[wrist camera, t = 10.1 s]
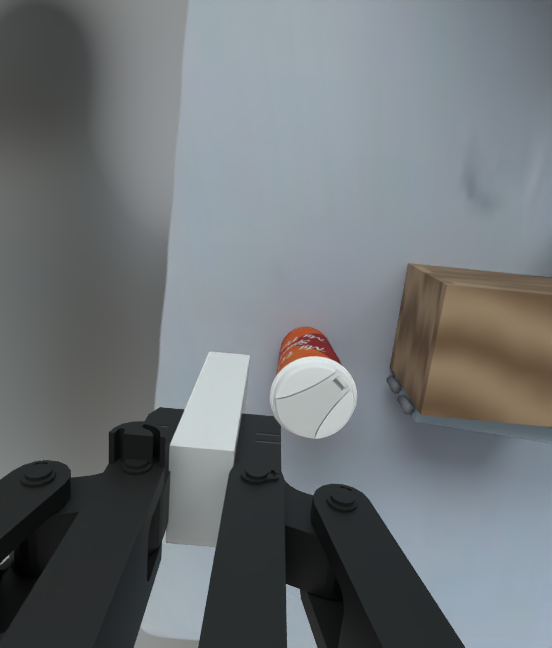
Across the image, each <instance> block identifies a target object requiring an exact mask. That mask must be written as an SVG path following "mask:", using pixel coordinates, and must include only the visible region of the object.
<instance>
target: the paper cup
mask: <svg viewBox="0 0 552 648" xmlns="http://www.w3.org/2000/svg"><path fill="white" fill-rule="evenodd" d="M356 403H357V389H356V385H355V382H354V380H353V378H352V376H351V375H350V373H349V372H348V371H347V370H346V369H345V368H344V367H343V366H342V365H341V362H340V360H339V359H338V357H337V355H336V354H335V352H334V350H333V348H332V347H331V345H330V343H329V342H328V340H327V338H326V337H325V336H324V335H323V334H322V333H321V332H320V331H318V330H316V329H314V328H310V327H301V328H297V329H295V330H293V331H291V332H290V333H289V334H288V335H287V336H286V337H285V339H284V340H283V342H282V345H281V349H280V354H279V360H278V366H277V373H276V377H275V379H274V381H273V383H272V386H271V390H270V405H271V409H272V411H273V414H274V417H275V419H276V420H277V421H278V422H279V424H280V425H281V427H282V428H284V429H285V430H287V431H288V432H290V433H293V434H296V435H299V436H302V437H307V438H313V439H319V438H324V437H328V436H330V435H332V434H334V433H336V432H338V431H339V430H340V429H341V428H343V427H344V426H345V424H346V423H347V422H348V420H349V419H350V417H351V416H352V414H353V412H354V410H355V407H356Z"/></svg>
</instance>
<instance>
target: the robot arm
mask: <svg viewBox="0 0 552 648" xmlns="http://www.w3.org/2000/svg"><path fill="white" fill-rule="evenodd" d="M249 361H250V355H242V354H231V353H220V352H210V351H209V353H208V356H207V358H206V360H205V363H204V365H203V368H202V370H201V372H200V375H199V377H198V379H197V382H196V384H195V387H194V389H193V391H192V394H191V396H190V398H189V401H188V403H187V406H186V408H185V410H184V409H173V408H162V407H160V408H158V409H157V410H155V411H153V412H152V413H150V414H149V415H148V417H147V418H146V420H145V421H144V422H142V421H141V422H129V423H124V424H121V425H119V426H117V427H115V428H113V429H112V430H111V431H110V432H109V464H108V466H107V468H106V469H105V471H104V472H103V473H100V474H96V475H91V476H83V477H73V478H71V470H70V469H69V468H68V466H67V465H65V464H63V463H61V462H58V461H49V460H46V461H45V460H43V461H35V462H32V463H29V464H25V465H23V466H21V467H19V468H17V469H16V470H14V471H12V472H10V473H9V474H8V475H6V476H5V477H3V478H2V479H1V480H0V563H1V562H2V561H3V559H5V558H6V557H7V556H8V555H9V558H8V559H7V560H6V561H5V562H4V563H3V564H1V565H0V648H134V645H135V641H136V638H137V635H138V631H139V629H140V625H141V622H142V619H143V616H144V613H145V609H146V606H147V603H148V600H149V596H150V593H151V590H152V587H153V584H154V580H155V577H156V574H157V571H158V568H159V564H160V561H161V552H162V539H163V536H164V533H165V530H166V543H173V544H185V545H197V546H209V547H216V550H215V555H214V561H213V567H212V573H211V578H210V584H209V590H208V595H207V601H206V607H205V612H204V618H203V624H202V629H201V635H200V641H199V647H198V648H287V626H286V584H288V585H291V586H293V587H296V588H299V589H300V594H301V600H302V603H303V606H304V609H305V612H306V615H307V618H308V621H309V624H310V627H311V630H312V632H313V635H314V638H315V641H316V644H317V647H318V648H465V646H464V645H463V643H462V642H461V640H460V639H459V637H458V636H457V634H456V633H455V631H454V629H453V628H452V626H451V625H450V623H449V622H448V620H447V619H446V617H445V616H444V614H443V613H442V611H441V609H440V608H439V606H438V605H437V603H436V602H435V600H434V599H433V597H432V596H431V594H430V593H429V591H428V590H427V588H426V586H425V585H424V583H423V582H422V580H421V579H420V577H419V576H418V574H417V573H416V571H415V570H414V568H413V566H412V565H411V563H410V562H409V560H408V559H407V557H406V556H405V554H404V553H403V551H402V550H401V548H400V546H399V545H398V543H397V542H396V540H395V539H394V537H393V536H392V534H391V533H390V531H389V530H388V528H387V527H386V525H385V523H384V522H383V520H382V519H381V517H380V516H379V514H378V513H377V511H376V510H375V508H374V507H373V505H372V503H371V502H370V500H369V499H368V498H367V497H366V496H365V495H364V494H363V493H362V492H360V491H358V490H357V489H355V488H353V487H350V486H346V485H343V484H329V485H324V486H322V487H320V488H318V489H317V490H316V491H315V493H314V495H310V494H306V493H304V492H301V491H298V490H296V489H295V488H293V487H291V486H290V485H289V484H288V483H287V482H286V481H285V480H284V477H283V474H282V472H281V425H280V424H279V422H278V421H277V420H276V419H275V417H274V416H264V415H253V414H245V406H246V395H247V383H248V372H249Z"/></svg>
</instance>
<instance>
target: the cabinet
mask: <svg viewBox="0 0 552 648" xmlns="http://www.w3.org/2000/svg"><path fill="white" fill-rule="evenodd" d="M390 368H391V369H392V371H393V372H394V374H395V375H396V377H397V379H398V380H399V382H400V383H401V385H402V386H403V388H404V390H405V391H406V393H407V394H408V396H409V397H410V399H411V401H412V402H413V404H414V405H415V407H416V408H417V410H418V412H419V413H420V415H425V416H436V417H447V418H458V419H469V420H480V421H491V422H502V423H513V424H524V425H535V426H545V427H552V278H551V277H540V276H530V275H520V274H510V273H500V272H490V271H480V270H470V269H460V268H450V267H440V266H430V265H420V264H410V263H408V268H407V274H406V280H405V285H404V291H403V296H402V302H401V308H400V313H399V319H398V325H397V330H396V336H395V342H394V347H393V353H392V359H391V364H390Z"/></svg>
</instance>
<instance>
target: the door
mask: <svg viewBox="0 0 552 648" xmlns="http://www.w3.org/2000/svg"><path fill="white" fill-rule="evenodd" d="M387 383H388V385H389V386H390V388H391V390H392V392H394V393H398V394H399V397H398V402H399V404H400V406H401V407H402V409H403V411H404V413H405V414H408V415H409V414H411V416H412V418H413V419H414V421H415V422H418V423H424V424H430V425H437V426H443V427H450V428H456V429H463V430H469V431H476V432H482V433H489V434H495V435H501V436H508V437H514V438H521V439H527V440H534V441H540V442H547V443H552V427H545V426H535V425H524V424H513V423H502V422H491V421H480V420H469V419H458V418H447V417H436V416H425V415H420V413H419V412H418V410H417V408H416V407H415V405H414V404H413V402H412V401H411V399H410V397H409V396H408V394H407V393H406V391H405V390H404V388H403V386H402V385H401V383H400V382H399V380H398V379H397V377H396V375H395V377H394V376H389V377H388V378H387Z"/></svg>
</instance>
